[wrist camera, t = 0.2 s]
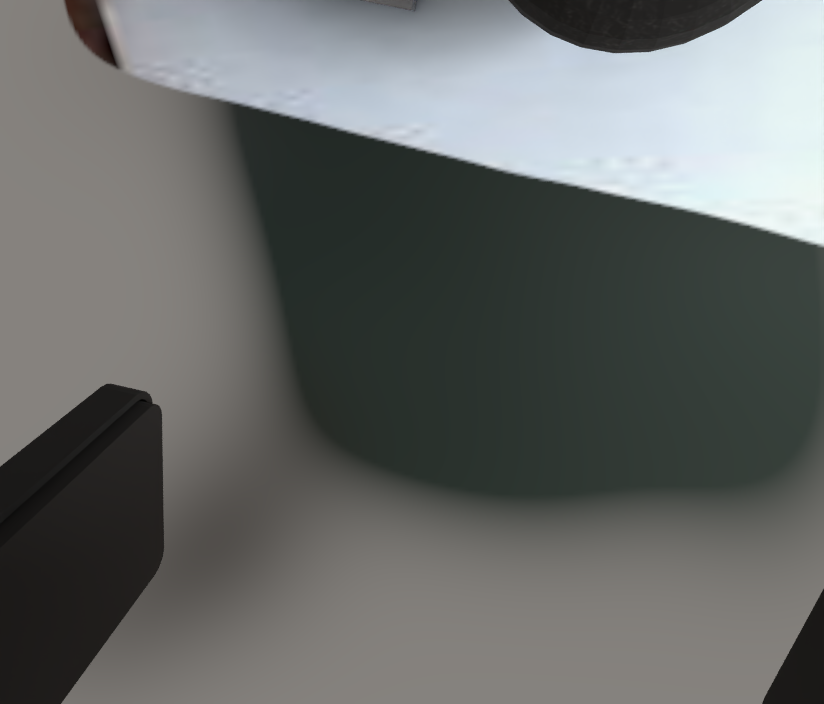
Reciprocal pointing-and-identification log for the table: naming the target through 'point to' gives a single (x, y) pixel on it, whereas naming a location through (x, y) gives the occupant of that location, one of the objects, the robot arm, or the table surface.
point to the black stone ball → (630, 21)
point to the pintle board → (396, 3)
